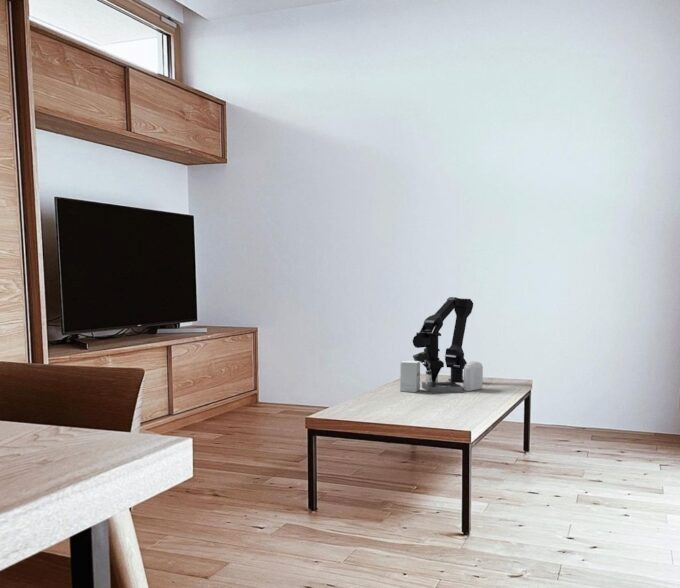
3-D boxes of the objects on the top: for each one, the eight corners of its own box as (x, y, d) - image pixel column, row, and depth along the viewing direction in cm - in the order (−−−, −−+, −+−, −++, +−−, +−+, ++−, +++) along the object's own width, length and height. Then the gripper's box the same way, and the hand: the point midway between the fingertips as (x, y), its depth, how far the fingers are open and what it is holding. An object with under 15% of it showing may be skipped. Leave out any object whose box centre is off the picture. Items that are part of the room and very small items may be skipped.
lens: (424, 383, 311) (424, 370, 311) (435, 383, 312) (436, 370, 312) (427, 385, 306) (427, 371, 306) (439, 385, 306) (439, 371, 306)
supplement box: (416, 392, 290) (416, 362, 289) (399, 391, 292) (399, 362, 292) (420, 389, 297) (420, 360, 296) (403, 388, 299) (403, 360, 299)
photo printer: (475, 387, 303) (476, 360, 302) (483, 389, 300) (484, 361, 299) (461, 390, 296) (462, 362, 295) (470, 391, 292) (470, 363, 292)
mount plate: (422, 387, 302) (422, 382, 302) (452, 387, 304) (452, 381, 304) (430, 393, 288) (430, 387, 288) (462, 392, 290) (462, 386, 290)
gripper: (409, 344, 317) (409, 377, 317) (419, 348, 298) (419, 384, 299) (433, 344, 318) (433, 377, 318) (444, 348, 299) (444, 383, 300)
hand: (431, 380), depth 309 cm, fingers closed on lens, 5 cm apart
